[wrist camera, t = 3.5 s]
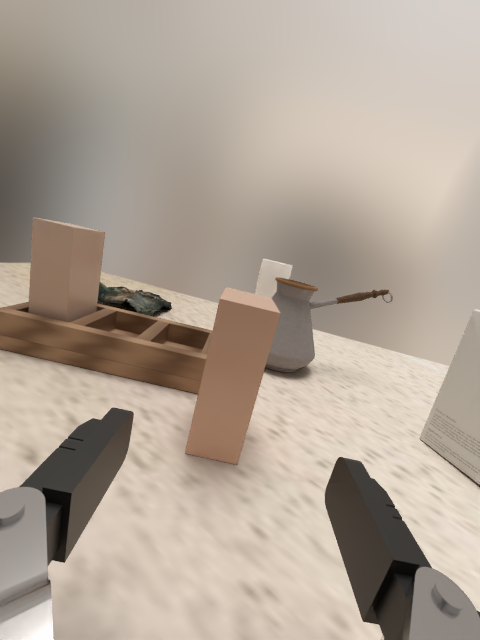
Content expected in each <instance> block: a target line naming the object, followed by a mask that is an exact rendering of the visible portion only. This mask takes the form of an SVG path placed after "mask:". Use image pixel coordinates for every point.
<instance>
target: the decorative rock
mask: <svg viewBox="0 0 480 640" xmlns="http://www.w3.org/2000/svg"><path fill="white" fill-rule="evenodd" d="M98 300H99V301H102V302H110V303H118V304H123V303H127V302H128V303H129V306H131V307H134V308H135V309H136V311H137V312H138V313H140V314H144V315H149V316H153V315H154V313H155V312H156V311H160V309H161V308H162V306H165V307H168V308H169V309H170V310H171V309H172V308H171V302H167V301H166V300H163V299H161V297H159V295H155V294H153V293H150V292H143V291H142V290H139V291H137V290H136V291H133V290H128V289H127V288H124V287H108V288H107V287H106V286H105V285H103V284H102V283H101V282H100V283H99V292H98Z"/></svg>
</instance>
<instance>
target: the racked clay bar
mask: <svg viewBox="0 0 480 640" xmlns="http://www.w3.org/2000/svg"><path fill="white" fill-rule="evenodd" d="M104 239H105V232H102V231H98V230H94V229H90V228H86V227H82V226H78V225H74V224H69V223H63V222H57V221H51V220H45V219H39V218H33V229H32V251H31V270H30V291H29V311H28V313H31V314H35V315H39V316H43V317H48V318H52V319H56V320H61V321H65V322H72V321H74V320H77V319H79V318H82V317H85V316H87V315H90V314H92V313H95V312H96V310H97V301H98V292H99V283H100V274H101V265H102V256H103V247H104Z"/></svg>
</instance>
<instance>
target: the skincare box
mask: <svg viewBox="0 0 480 640" xmlns="http://www.w3.org/2000/svg"><path fill="white" fill-rule="evenodd" d="M420 439H421V440H422V441H423V442H425V443H426V444H427V445H429V446H430V447H431V448H432V449H434V450H435V451H436V452H438V453H439V454H440V455H441V456H443V457H444V458H445V459H447V460H448V461H449V462H451V463H452V464H453V465H454V466H456V467H457V468H458V469H460V470H461V471H462V472H463V473H465V474H466V475H467V476H469V477H470V478H471V479H473V480H474V481H475V482H476V483H478V484H479V485H480V310H473V312H472V315H471V317H470V320H469V322H468V324H467V327H466V329H465V331H464V334H463V336H462V339H461V341H460V344H459V346H458V348H457V351H456V353H455V355H454V358H453V360H452V363H451V365H450V367H449V369H448V372H447V374H446V377H445V379H444V381H443V384H442V386H441V388H440V391H439V393H438V396H437V398H436V400H435V403H434V405H433V408H432V410H431V412H430V414H429V417H428V419H427V422H426V424H425V426H424V429H423V431H422V434H421V436H420Z"/></svg>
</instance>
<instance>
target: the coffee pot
mask: <svg viewBox="0 0 480 640" xmlns="http://www.w3.org/2000/svg"><path fill="white" fill-rule="evenodd" d="M275 280H276V281H277V291H276V293H275V294H274V295H273V297H272V300H273V301H274V303H275V305H276V306H277V308H278V310H279V311H280V313H281V314H280V317H279V321H278V324H277V328H276V331H275V335H274V338H273V341H272V345H271V348H270V352H269V355H268V359H267V362H266V366H265V367H266V368H269V369H272V370H276V371H281V372H293V371H296V370H297V369H299V368H302V367H305V366H307V365H308V364H309V363H310V362H311V361H312V360H313V359H314V357H315V352H314V342H313V332H312V323H311V313H310V309H312V308H317V307H322V306H327V305H331V304H336V303H337V304H338V303H346V302H353V301H362V300H364V299H367V298H370V297H373V298H376V297H377V296H379V295H382V297H383V300H384V301H385V302H387V301H386V300H385V299H384V295H385V294H388V293H389V294H390V295H391V301H392V299H393V298H392V294H391V293H390V292H389V290H380V291H375V290H373V291H372V292H366V293H356V294H352V295H348V296H344V297H339V298H336V299H331V300H325V301H318V302H312V303H309V300H310V298H311V296H312V295H313V293H314V291H317V290H318V288H316V287H314V286H311V285H308V284H305V283H301V282H297V281H293V280H289V279H285V278H279V277H276V278H275ZM391 301H390V302H391ZM388 303H389V302H388Z"/></svg>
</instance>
